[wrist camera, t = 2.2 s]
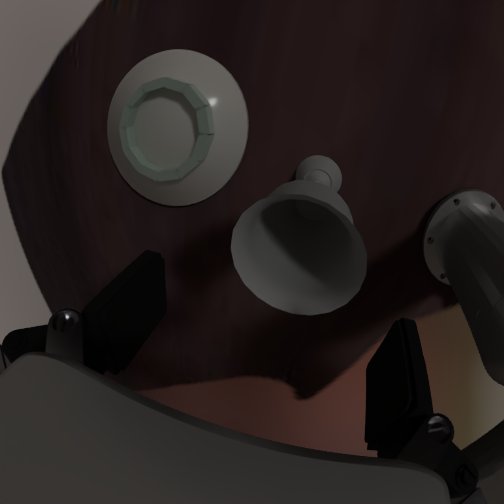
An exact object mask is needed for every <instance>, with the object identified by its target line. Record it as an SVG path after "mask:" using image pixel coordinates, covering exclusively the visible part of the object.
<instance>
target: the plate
mask: <svg viewBox="0 0 504 504" xmlns="http://www.w3.org/2000/svg"><path fill="white" fill-rule="evenodd" d="M107 134H108V142H109V147H110V151H111V154H112V157H113V160H114V162H115V164H116V166H117V168H118V170H119V172H120V173H121V175H122V176H123V178H124V179H125V180H126V181H127V183H128V184H129V185H130V186H131V187H132V188H133V189H134V190H136V191H137V192H138V193H140V194H141V195H143V196H144V197H146V198H148V199H150V200H152V201H154V202H157V203H160V204H164V205H171V206H183V205H190V204H193V203H197V202H200V201H202V200H204V199H206V198H208V197H210V196H211V195H213V194H214V193H216V192H217V191H218V190H219V189H221V188H222V187H223V186H224V185H225V184H226V183H227V182H228V181H229V180H230V179H231V177H232V176H233V175H234V173H235V172H236V170H237V169H238V167H239V165H240V163H241V161H242V158H243V156H244V153H245V150H246V146H247V141H248V134H249V116H248V110H247V105H246V101H245V98H244V96H243V93H242V91H241V89H240V87H239V85H238V83H237V82H236V80H235V79H234V77H233V76H232V75H231V73H230V72H229V71H228V70H227V69H226V68H225V67H224V66H222V65H221V64H220V63H218V62H217V61H216V60H214V59H212V58H210V57H208V56H206V55H204V54H201V53H198V52H195V51H189V50H168V51H163V52H160V53H156V54H154V55H152V56H150V57H147V58H146V59H144V60H143V61H141V62H139V63H138V64H137V65H136V66H135V67H133V68H132V69H131V70H130V71H129V72H128V73H127V75H126V76H125V77H124V78H123V80H122V81H121V83H120V84H119V86H118V88H117V90H116V92H115V94H114V96H113V99H112V102H111V105H110V109H109V114H108V123H107Z"/></svg>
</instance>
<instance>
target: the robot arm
mask: <svg viewBox="0 0 504 504" xmlns="http://www.w3.org/2000/svg"><path fill="white" fill-rule="evenodd" d="M454 200H455V201H454ZM429 237H430V238H429ZM428 238H429V239H428ZM422 248H423V255H424V259H425V262H426V264H427V266H428V268H429V270H430V271H431V273H432V274H433V275H434V276H435V277H436V278H437V279H438V280H439V281H441V282H443V283H445V284H448V285H451V287H452V289H453V291H454V293H455V295H456V297H457V299H458V302H459V304H460V306H461V308H462V311H463V313H464V315H465V318H466V320H467V322H468V325H469V327H470V330H471V332H472V335H473V338H474V340H475V343H476V346H477V348H478V351H479V354H480V357H481V360H482V362H483V365H484V367H485V369H486V371H487V373H488V374H489V376H490V377H491V378H492V379H493V380H494V381H496V382H497V383H498V384H501V385H503V386H504V212H503V210H502V208H501V206H500V204H499V203H498V202H497V201H496V200H495V199H494V198H493V197H492V196H490V195H489V194H487V193H486V192H484V191H482V190H478V189H463V190H459V191H456V192H454V193H452V194H450V195H449V196H447V197H446V198H445V199H443V200H442V201H441V202H440V203H439V204H438V205H437V206H436V207H435V209H434V210H433V212H432V213H431V215H430V217H429V219H428V221H427V223H426V226H425V230H424V233H423V241H422ZM166 311H167V300H166V284H165V264H164V258H162V257H161V254H160V253H157V252H154V251H151V250H146V251H144V252H143V253H142V254H141V255H140V256H139V257H138V258H137V259H135V260H134V261H133V262H132V263H131V264H130V265H129V266H128V267H127V268H125V269H124V270H123V271H122V272H121V273H120V274H119V275H118V276H117V277H116V278H115V279H114V280H112V281H111V282H110V283H109V284H108V285H107V286H106V287H105V288H104V289H103V290H102V291H101V292H100V293H99V294H98V295H97V296H96V297H95V298H94V299H93V300H92V301H91V302H90V303H89V304H88V305H86V306H85V307H84V310H83V311H82V312H81V313H80V312H79V311H78V310H76V309H73V308H64V309H61V310H59V311H57V312H55V313H54V314H53V315H52V316H51V318H50V319H49V323H48V325H42V326H36V327H30V328H24V329H18V330H14V331H12V332H10V333H9V334H8V335H7V336H6V337H5V338H4V340H3V343H2V345H0V504H504V420H503V421H502V422H500V423H499V424H498V425H496V426H495V427H494V428H493V429H491V430H490V431H489V432H487V433H486V434H484V435H483V436H482V437H480V438H479V439H477V440H476V441H475V442H473V443H471V444H470V445H468V446H467V447H466V448H464V449H463V450H460V449H459V448H458V447H457V446H456V445H455V444H454V443H453V442H452V440H453V438H454V427H453V424H452V422H451V421H450V420H449V418H448V417H446V416H445V415H443V414H440V413H433V406H432V399H431V392H430V386H429V380H428V374H427V369H426V364H425V360H424V356H423V352H422V347H421V343H420V338H419V334H418V330H417V326H416V322H415V321H414V320H410V319H406V318H401V319H399V321H398V320H396V321H395V322H394V323H393V325H392V327H391V329H390V330H389V332H388V333H387V335H386V337H385V338H384V340H383V342H382V343H381V345H380V346H379V348H378V349H377V351H376V353H375V354H374V356H373V357H372V359H371V360H370V362H369V363H368V366H367V369H366V420H365V442H366V443H368V446H367V450H377V451H378V453H377V455H378V457H366V456H357V455H349V454H341V453H333V452H327V451H320V450H314V449H308V448H303V447H298V446H293V445H289V444H284V443H280V442H275V441H271V440H267V439H263V438H259V437H255V436H252V435H248V434H244V433H241V432H238V431H234V430H231V429H228V428H225V427H222V426H219V425H216V424H213V423H210V422H207V421H204V420H201V419H199V418H196V417H193V416H191V415H188V414H185V413H183V412H180V411H178V410H175V409H173V408H170V407H168V406H166V405H163V404H161V403H158V402H156V401H154V400H152V399H150V398H148V397H145V396H143V395H141V394H139V393H137V392H135V391H133V390H131V389H129V388H127V387H125V386H123V385H121V384H119V383H117V382H115V381H113V380H111V379H109V378H107V377H105V376H104V375H103V374H104V373H105V372H106V370H108V371H109V372H111V373H113V374H115V375H117V374H118V373H119V372H120V370H122V371H123V370H125V369H126V367H127V366H128V365H129V363H130V362H131V360H132V359H133V358H134V356H135V355H136V353H137V352H138V351H139V349H140V348H141V347H142V345H143V344H144V342H145V341H146V340H147V338H148V337H149V336H150V334H151V333H152V332H153V330H154V329H155V327H156V326H157V325H158V323H159V322H160V321H161V319H162V318H163V317H164V315H165V313H166Z"/></svg>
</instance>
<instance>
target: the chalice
mask: <svg viewBox="0 0 504 504" xmlns="http://www.w3.org/2000/svg"><path fill="white" fill-rule="evenodd" d="M341 183H342V175H341V172H340V169H339V167H338V166H337V165H336V163H335V162H334V161H332V160H331V159H329V158H328V157H324V156H321V155H317V156H311V157H308V158H306V159H305V160H303V161H302V162H301V163H300V165H299V166H298V168H297V171H296V180H294V181H291V182H288V183H284V184H282V185H281V186H279V187H278V188H277V189H276V190H274V191H273V192H272V193H271V194H270V195H269V197H268V198H265V199H262V200H259V201H258V202H256V203H255V204H254V205H252V206H251V207H250V208H249V209H247V210H246V211H245V212H243V213H242V215H241V217H240V219H239V220H238V222H237V224H236V226H235V227H234V229H233V235H232V242H231V252H232V257H233V261H234V266H235V268H236V270H237V272H238V273H239V275H240V277H241V279H242V280H243V282H244V284H245V285H246V286H247V287H248V288H249V289H250V290H251V291H252V292H253V293H254V294H255V295H256V296H257V297H258V298H260V299H262V300H263V301H265V302H266V303H268V304H269V305H271V306H273V307H275V308H278V309H280V310H283V311H286V312H289V313H292V314H302V315H316V314H322V313H328V312H331V311H333V310H335V309H337V308H339V307H341V306H343V305H345V304H347V303H348V302H349V301H350V300H351V299H352V298H353V297H354V296H355V295H356V294H357V293H358V292H359V290H360V288H361V285H362V283H363V281H364V278H365V276H366V269H367V253H366V250H365V247H364V244H363V241H362V238H361V235H360V234H359V232H358V231H357V230H356V228H355V227H354V226H353V219H352V216H351V213H350V211H349V208H348V206H347V204H346V203H345V202H344V200H343V199H342V198H341V197H340V195H339V194H338V193H337V192H338V190H339V189H340V186H341Z"/></svg>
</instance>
